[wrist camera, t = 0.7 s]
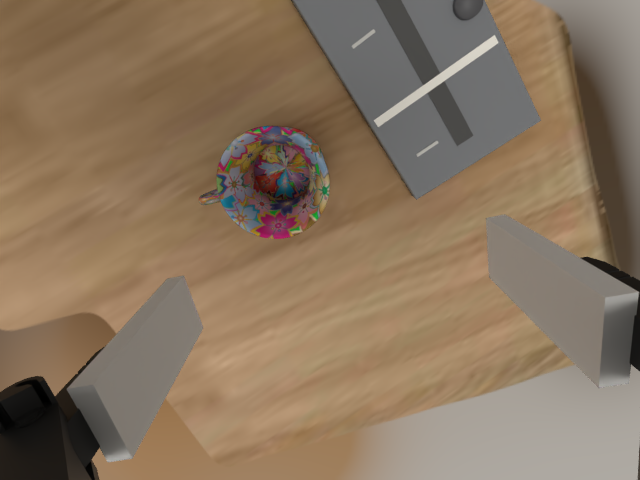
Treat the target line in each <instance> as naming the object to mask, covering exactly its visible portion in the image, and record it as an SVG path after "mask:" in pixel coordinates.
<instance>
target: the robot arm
mask: <svg viewBox="0 0 640 480" xmlns="http://www.w3.org/2000/svg"><path fill="white" fill-rule="evenodd" d="M486 227H487V247H488V266H489V278H490V279H491V280H492V281H493V282H494V283H495V284H496V285H497V286H498V287H499V288H500V289H501V290H502V291H503V292H504V293H505V294H506V295H507V296H508V297H509V298H510V299H511V300H512V301H513V302H514V303H515V304H516V305H517V306H518V307H519V308H520V309H521V310H522V311H523V312H524V313H525V314H526V315H527V316H528V317H529V318H530V319H531V320H532V321H533V322H534V323H535V324H536V325H537V326H538V327H539V328H540V329H541V330H542V331H543V332H544V333H545V334H546V335H547V336H548V337H549V338H550V339H551V340H552V341H553V342H554V343H555V344H556V345H557V346H558V347H559V348H560V349H561V350H562V351H563V352H564V354H565V355H566V356H567V357H568V358H569V359H570V360H571V361H572V362H573V363H574V364H575V365H576V366H577V367H578V368H579V369H580V370H581V371H582V372H583V373H584V374H585V375H586V376H587V377H588V378H589V379H590V380H591V381H592V382H593V383H594V384H595V385H596V386H597V387H598V388H602V387H609V386H615V385H622V384H628V383H629V378H630V369H631V364H632V365H633V366H634V367H635V368H636V369H638V370H639V371H640V281H639V280H638V279H636V278H634V277H630V275H628V274H626V273H625V272H623V271H619V269H617V268H616V267H614V266H612V265H610V264H608V263H606V262H604V261H600V260H597V259H593V258H590V257H583V258H579V257H578V256H576V255H574V254H572V253H571V252H569V251H567V250H565V249H564V248H562V247H560V246H559V245H557V244H555V243H553V242H552V241H550V240H548V239H546V238H545V237H543V236H541V235H540V234H538V233H536V232H534V231H533V230H531V229H529V228H527V227H526V226H524V225H522V224H521V223H519V222H517V221H515V220H514V219H512V218H510V217H508V216H507V215H500V216H494V217H489V218H486ZM202 330H203V326H202V323H201V320H200V318H199V315H198V312H197V310H196V307H195V304H194V302H193V299H192V296H191V294H190V291H189V288H188V286H187V283H186V280H185V278H184V276H179V277H174V278H169V279H167V280H166V281H165V282H164V283H163V284H162V285H161V286H160V287H159V288H158V289H157V291H156V292H155V293H154V294H153V295H152V296H151V297H150V298H149V299H148V300H147V302H146V303H145V304H144V305H143V306H142V307H141V308H140V309H139V310H138V311H137V312H136V314H135V315H134V316H133V317H132V318H131V319H130V320H129V321H128V322H127V323H126V325H125V326H124V327H123V328H122V329H121V330H120V331H119V332H118V333H117V334H116V335H115V337H114V338H113V339H112V340H111V341H110V342H109V343H108V344H107V345H106V346H105V347H103V348H102V349H100V350H99V351H98V352H96V353H95V354H94V355H93V356H92V357H91V358H90V360H89V361H88V362H87V363H86V365H85V366H83V367H82V368H81V369H80V370H79V371H78V374H76V375H75V376H74V377H73V378H72V379H71V380H70V381H69V382H68V383H67V384H66V385H65V386H64V388H63V389H62V390H61V391H60V392H59V393H58V394H57V395H56V396H54V395H53V393H52V391H51V390H50V388H49V386H48V385H47V383H46V381H45V379H44V378H43V377H39V376H35V377H31V378H27V379H24V380H22V381H19V382H17V383H15V384H13V385H11V386H9V387H8V388H6V389H4V390H3V391H2V392H0V480H99V477H98V472H97V468H96V467H95V465H94V463H93V462H92V460H91V459H92V458H93V456H94V455H95V453H96V452H97V450H98V449H99V447H100V449H101V451H102V453H103V455H104V456H105V458H106V460H107V462H112V461H120V460H126V459H132V458H133V456H134V455H135V453H136V451H137V449H138V447H139V445H140V443H141V442H142V440H143V438H144V436H145V434H146V432H147V431H148V429H149V427H150V425H151V423H152V421H153V420H154V418H155V416H156V414H157V412H158V410H159V408H160V407H161V405H162V403H163V401H164V399H165V398H166V396H167V394H168V392H169V390H170V388H171V387H172V385H173V383H174V381H175V379H176V377H177V376H178V374H179V372H180V370H181V368H182V366H183V364H184V363H185V361H186V359H187V357H188V355H189V353H190V352H191V350H192V348H193V346H194V344H195V342H196V341H197V339H198V337H199V335H200V333H201V331H202ZM638 480H640V448H639V467H638Z"/></svg>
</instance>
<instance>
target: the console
mask: <svg viewBox="0 0 640 480" xmlns="http://www.w3.org/2000/svg"><path fill="white" fill-rule="evenodd" d="M291 1H292V2H293V4H294V6H295V7H296V9H297V10H298V12H299V14H300V15H301V17H302V19H303V20H304V22H305V23H306V25H307V27H308V28H309V30H310V31H311V33H312V35H313V36H314V38H315V39H316V41H317V43H318V44H319V46H320V48H321V49H322V51H323V52H324V54H325V56H326V57H327V59H328V60H329V62H330V64H331V65H332V67H333V68H334V70H335V72H336V73H337V75H338V77H339V78H340V80H341V81H342V83H343V85H344V86H345V88H346V89H347V91H348V93H349V94H350V96H351V97H352V99H353V101H354V102H355V104H356V106H357V107H358V109H359V110H360V112H361V114H362V115H363V117H364V118H365V120H366V122H367V123H368V125H369V126H370V128H371V130H372V131H373V133H374V135H375V136H376V138H377V139H378V141H379V143H380V144H381V146H382V147H383V149H384V151H385V152H386V154H387V155H388V157H389V159H390V160H391V162H392V164H393V165H394V167H395V168H396V170H397V172H398V173H399V175H400V176H401V178H402V180H403V181H404V183H405V184H406V186H407V188H408V189H409V191H410V193H411V194H412V196H413V197H414V198H415V199H418V198H420V197H421V196H423V195H425V194H426V193H428V192H429V191H431V190H432V189H434V188H436V187H437V186H439V185H440V184H442V183H443V182H445V181H447V180H448V179H450V178H451V177H453V176H454V175H456V174H458V173H459V172H461V171H462V170H464V169H465V168H467V167H469V166H470V165H472V164H473V163H475V162H476V161H478V160H480V159H481V158H483V157H484V156H486V155H487V154H489V153H491V152H492V151H494V150H495V149H497V148H498V147H500V146H502V145H503V144H505V143H506V142H508V141H509V140H511V139H513V138H514V137H516V136H517V135H519V134H520V133H522V132H524V131H525V130H527V129H528V128H530V127H531V126H533V125H535V124H536V123H538V122H539V121H541V120H540V117H539V115H538V113H537V111H536V109H535V107H534V105H533V102H532V100H531V98H530V96H529V94H528V92H527V90H526V88H525V85H524V83H523V81H522V79H521V77H520V75H519V73H518V71H517V68H516V66H515V64H514V62H513V60H512V58H511V56H510V54H509V51H508V49H507V47H506V45H505V43H504V41H503V39H502V36H501V34H500V32H499V30H498V28H497V26H496V24H495V22H494V19H493V17H492V15H491V13H490V11H489V9H488V7H487V5H486V2H485V0H291Z"/></svg>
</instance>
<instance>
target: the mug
mask: <svg viewBox="0 0 640 480" xmlns="http://www.w3.org/2000/svg"><path fill="white" fill-rule="evenodd" d="M329 190H330V179H329V173H328V169H327V166H326V163H325V161H324V157H323V154H322V152H321V150H320V148H319V146H318V145H317V143H316V142H315V141H314V140H313V139H312V138H311V137H310V136H309V135H307V134H306V133H304V132H303V131H300V130H298V129H295V128H291V127H278V126H264V127H258V128H254V129H251V130H249V131H247V132H245V133H243V134H241V135H240V136H238V137H237V138H236V139H235V140H234V141H232V142H231V144H230V145H229V146H228V147H227V149H226V150H225V151H224V153H223V155H222V157H221V160H220V162H219V165H218V170H217V189H215V190H213V191H210V192H208V193H205V194H203V195H201V196H200V197H199V202H200V204H201V205H208V204H213V203H216V202H220V201H221V203H222V205H223V207H224V209H225V211H226V212H227V214H228V215H229V216H230V217H231V219H232V220H233V221H234V222H235V223H236V224H238V225H239V226H240V227H241V228H243V229H244V230H246V231H248V232H250V233H252V234H254V235H257V236H260V237H264V238H270V239H281V238H288V237H292V236H295V235H297V234H300V233H301V232H303V231H305V230H306V229H308V228H309V227H310V226H312V225H313V224H314V223H315V222H316V221H317V219H318V218H319V217H320V216H321V214H322V212H323V211H324V209H325V206H326V204H327V201H328V197H329Z"/></svg>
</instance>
